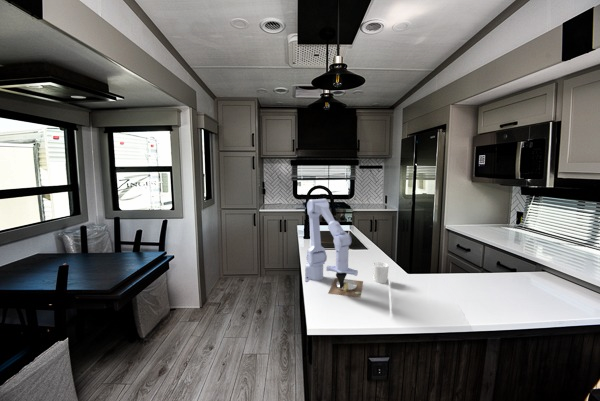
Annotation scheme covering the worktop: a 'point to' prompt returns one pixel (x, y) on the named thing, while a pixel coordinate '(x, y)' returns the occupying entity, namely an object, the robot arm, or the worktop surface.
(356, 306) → the worktop surface
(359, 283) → the brown flat rectangular slab
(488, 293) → the worktop surface
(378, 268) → the white cup
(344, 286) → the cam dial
